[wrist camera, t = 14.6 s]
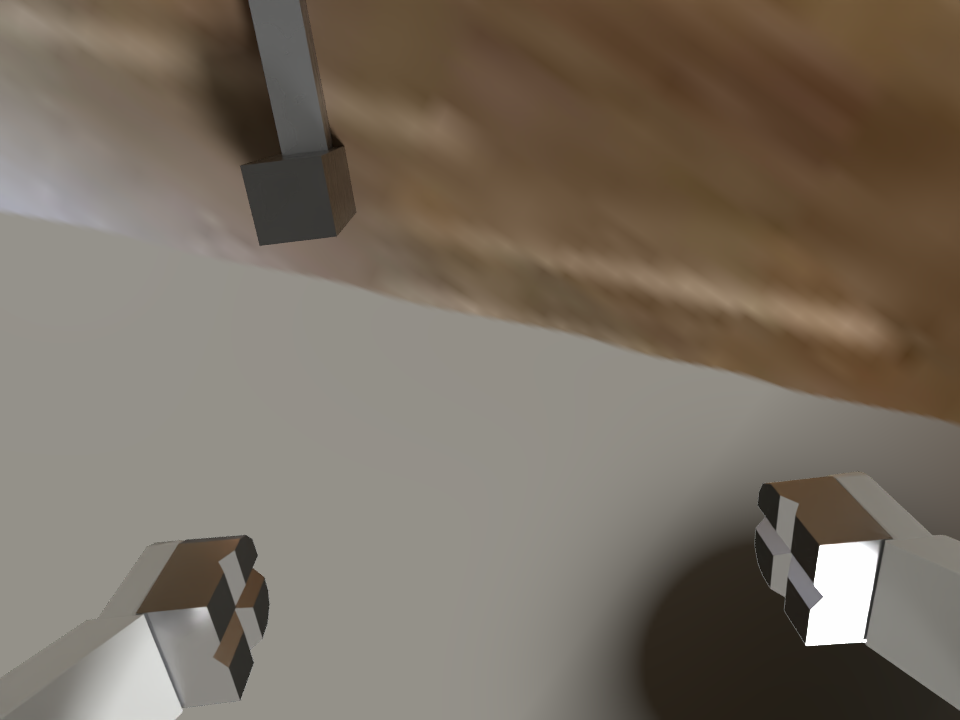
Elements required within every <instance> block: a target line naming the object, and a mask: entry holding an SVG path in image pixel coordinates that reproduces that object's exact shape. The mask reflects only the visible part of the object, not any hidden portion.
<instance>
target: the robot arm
mask: <svg viewBox="0 0 960 720" xmlns="http://www.w3.org/2000/svg"><path fill="white" fill-rule="evenodd" d="M758 507H759V508H760V509H761V511H762V512H763V514H764V515H765V518H764V519H763V520H762V522H761V523H760V524H759V525H758V526H757V527H756V529H755V550H756V556H757V561H758V565H759V567H760V570H761V572H762V575H763V577H764V579H765V580H766V582H767V584H768V585H769V587H770V588H771V589H772V590H774V591H775V592H777V593H779V594H781V595H783V596H784V597H785V606H784V611H785V613H786V615H787V616H788V618H789V619H790V621H791V622H792V624H793V625H794V627H795V629H796V630H797V632H798V634H799V635H800V636H801V638H802V640H803V641H804V643H805V645H820V644H835V643H849V642H864V641H866V643H865V644H866V645H867V646H869V647H870V648H871V649H873V650H875V651H876V652H877V653H879V654H880V655H881V656H883V657H885V658H886V659H887V660H889V661H890V662H892V663H893V664H894V665H896V666H897V667H899V668H900V669H901V670H903V671H904V672H906V673H907V674H909V675H910V676H911V677H913V678H914V679H916V680H917V681H919V682H920V683H921V684H923V685H924V686H926V687H927V688H929V689H930V690H931V691H933V692H935V693H936V694H937V695H939V696H940V697H941V698H943V699H944V700H946V701H947V702H949V703H950V704H951V705H953V706H954V707H956V708H957V709H959V710H960V541H958V540H955V539H953V538H950V537H948V536H945V535H935V536H933V535H932V534H930V533H929V532H928V531H927V530H926V529H925V528H924V527H923V526H922V525H921V524H920V523H919V522H918V521H917V520H916V519H915V518H913V517H912V516H911V515H910V514H909V513H908V512H907V511H906V510H905V509H904V508H903V507H902V506H901V505H899V503H897V502H896V501H895V500H894V499H893V498H892V497H891V496H890V495H889V494H888V493H887V492H886V491H885V490H883V489H882V488H881V487H880V486H879V485H878V484H877V483H876V482H875V481H874V480H873V479H872V478H871V477H870V476H869V475H867V474H865V473H862V472H859V471H858V472H850V473H842V474H835V475H827V476H826V477H819V478H810V479H800V480H790V481H782V482H772V483H764V484H762V486H761V489H760V491H759V497H758ZM257 556H258V554H257V552H256V549H255V546H254V543H253V540H252V539H251V538H250V537H248V536H247V535H239V536H226V537H215V538H214V537H213V538H201V539H188V540H185V541H182V540H178V541H168V542H157V543H154V544H151V545H149V546H147V547H146V549H145V550H144V551H143V553H142V555H141V556H140V557H139V559H138V560H137V562H136V563H135V565H134V566H133V567H132V569H131V570H130V572H129V573H128V575H127V576H126V578H125V579H124V581H123V582H122V584H121V585H120V587H119V588H118V589H117V591H116V592H115V594H114V595H113V597H112V598H111V600H110V601H109V602H108V604H107V605H106V607H105V608H104V610H103V611H102V613H101V614H100V616H99V617H98V618H97V619H92V620H86V621H85V622H83V623H82V624H80V625H79V626H77V627H76V628H74V629H73V630H71V631H70V632H68V633H67V634H65V635H64V636H62V637H61V638H59V639H58V640H56V641H55V642H53V643H52V644H50V645H49V646H47V647H46V648H44V649H43V650H41V651H40V652H38V653H37V654H35V655H34V656H32V657H31V658H29V659H28V660H27V661H25V662H23V663H22V664H21V665H19V666H17V667H16V668H14V669H13V670H11V671H10V672H8V673H7V674H5V675H4V676H3V677H1V678H0V720H175V719H176V718H177V717H178V716H179V715H180V714H181V713H182V712H183V710H182V708H187V707H196V706H203V705H211V704H219V703H227V702H235V701H240V700H241V697H242V694H243V692H244V689H245V686H246V683H247V681H248V678H249V675H250V672H251V669H252V667H253V664H254V661H253V658H252V655H251V652H250V650H251V649H252V648H253V647H254V646H255V645H256V644H257V643H258V642H259V641H261V640H262V639H263V636H264V633H265V630H266V627H267V624H268V615H269V605H270V604H269V594H268V588H267V585H266V581H265V578H264V577H263V576H262V575H261V574H259V573H258V572H257V571H256V570H254V569H253V566H254V564H255V561H256V558H257Z"/></svg>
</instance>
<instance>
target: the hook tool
mask: <svg viewBox="0 0 960 720" xmlns="http://www.w3.org/2000/svg"><path fill="white" fill-rule="evenodd" d="M248 1H249V6H250V10H251V15H252V19H253V24H254V28H255V33H256V38H257V42H258V47H259V51H260V56H261V60H262V65H263V70H264V74H265V79H266V83H267V88H268V93H269V97H270V102H271V106H272V111H273V115H274V120H275V125H276V129H277V134H278V138H279V143H280V147H281V152H282V154H278V155H275V156H271V157H268V158H264V159H261V160H258V161H254V162H251V163H248V164H244V165H241V166H240V167H241V171H242V175H243V179H244V183H245V187H246V191H247V196H248V200H249V204H250V208H251V212H252V216H253V220H254V224H255V228H256V232H257V237H258V241H259V245H260V246H262V245H270V244H278V243H286V242H295V241H303V240H311V239H319V238H327V237H335V236H337V235H338V234H339V233H340V232H341V230H342V229H343V228H344V227H345V226H346V224H347V223H348V222H349V221H350V219H351V218H352V217H353V216H354V214H355V213H356V208H355V203H354V197H353V192H352V186H351V181H350V175H349V170H348V164H347V159H346V153H345V148H344V146H343V147H334V148H333V143H332V138H331V132H330V127H329V122H328V117H327V111H326V106H325V101H324V95H323V90H322V85H321V79H320V74H319V69H318V64H317V58H316V53H315V48H314V42H313V37H312V32H311V27H310V21H309V16H308V11H307V5H306V0H248Z"/></svg>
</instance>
